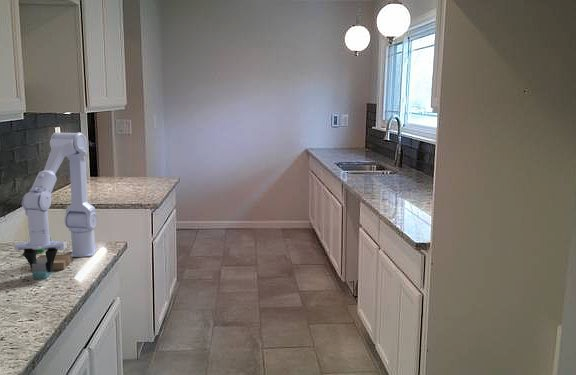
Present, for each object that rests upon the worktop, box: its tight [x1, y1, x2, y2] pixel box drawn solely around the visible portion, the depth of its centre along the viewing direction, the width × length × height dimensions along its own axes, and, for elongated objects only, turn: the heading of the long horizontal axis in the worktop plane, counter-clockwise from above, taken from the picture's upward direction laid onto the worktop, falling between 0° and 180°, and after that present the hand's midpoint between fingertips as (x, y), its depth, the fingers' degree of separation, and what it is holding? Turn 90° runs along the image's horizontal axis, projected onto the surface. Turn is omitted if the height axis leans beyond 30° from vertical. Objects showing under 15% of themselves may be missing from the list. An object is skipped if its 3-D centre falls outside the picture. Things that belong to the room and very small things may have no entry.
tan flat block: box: [36, 253, 72, 271], centre depth 176 cm, size 9×10×2 cm
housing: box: [31, 257, 54, 280], centre depth 167 cm, size 6×4×5 cm, turn 7°
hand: (42, 271), depth 167 cm, fingers closed on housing, 4 cm apart
